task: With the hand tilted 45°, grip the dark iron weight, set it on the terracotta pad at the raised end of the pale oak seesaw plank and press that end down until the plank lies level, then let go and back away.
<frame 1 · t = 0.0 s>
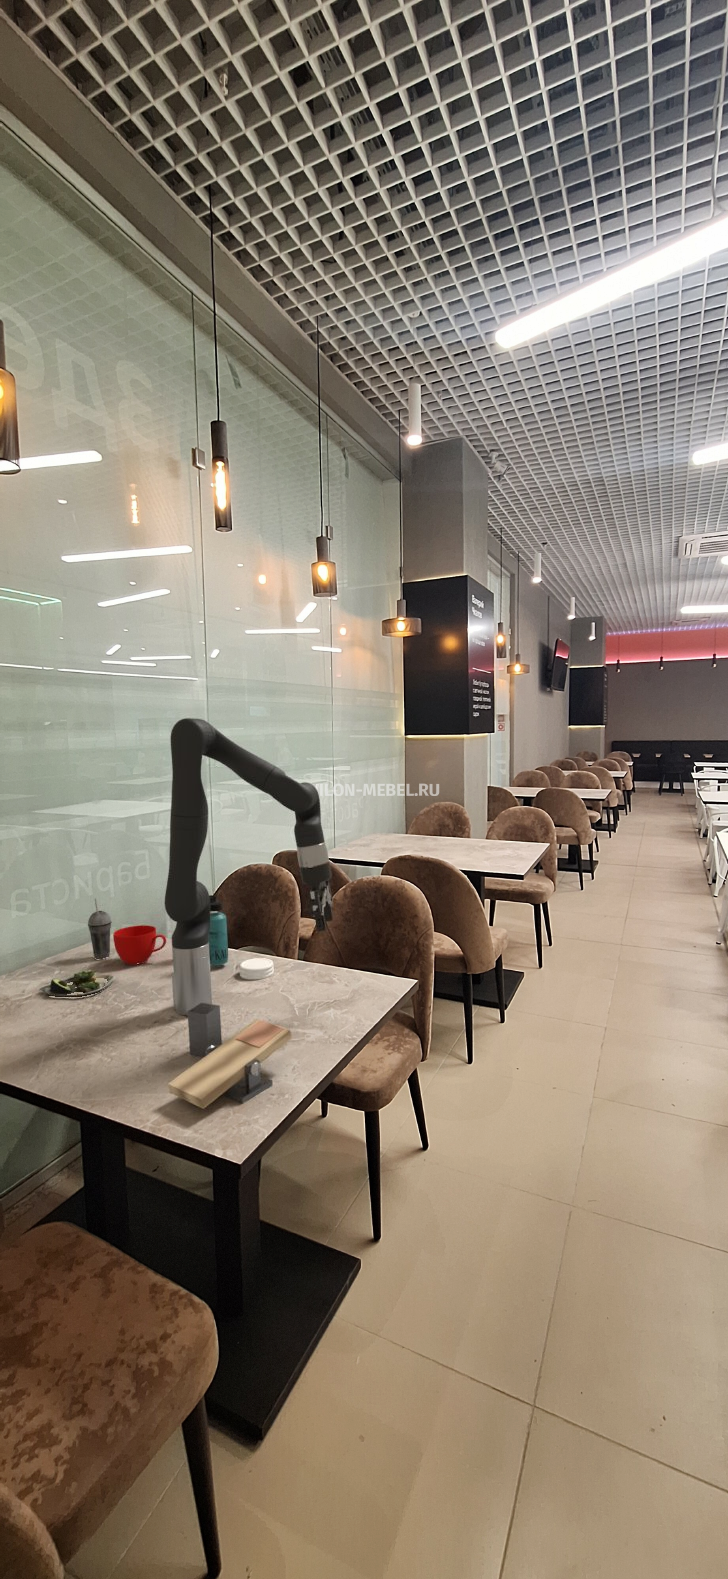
hand: (325, 925, 167), 22 cm above the table, tool pointing down, fingers open, 8 cm apart
ceramic cup: (142, 962, 213), on the table
beverage cup: (102, 958, 218), on the table
seesaw stand: (233, 1083, 135), on the table
coaster: (257, 975, 198), on the table
beverage bottle: (218, 967, 206), on the table
travel mug: (210, 957, 216), on the table
seesaw plank: (232, 1059, 134), point 5 cm above the table, hinge at 10.0°
iron weight: (206, 1051, 149), on the table
salad plate: (78, 990, 191), on the table
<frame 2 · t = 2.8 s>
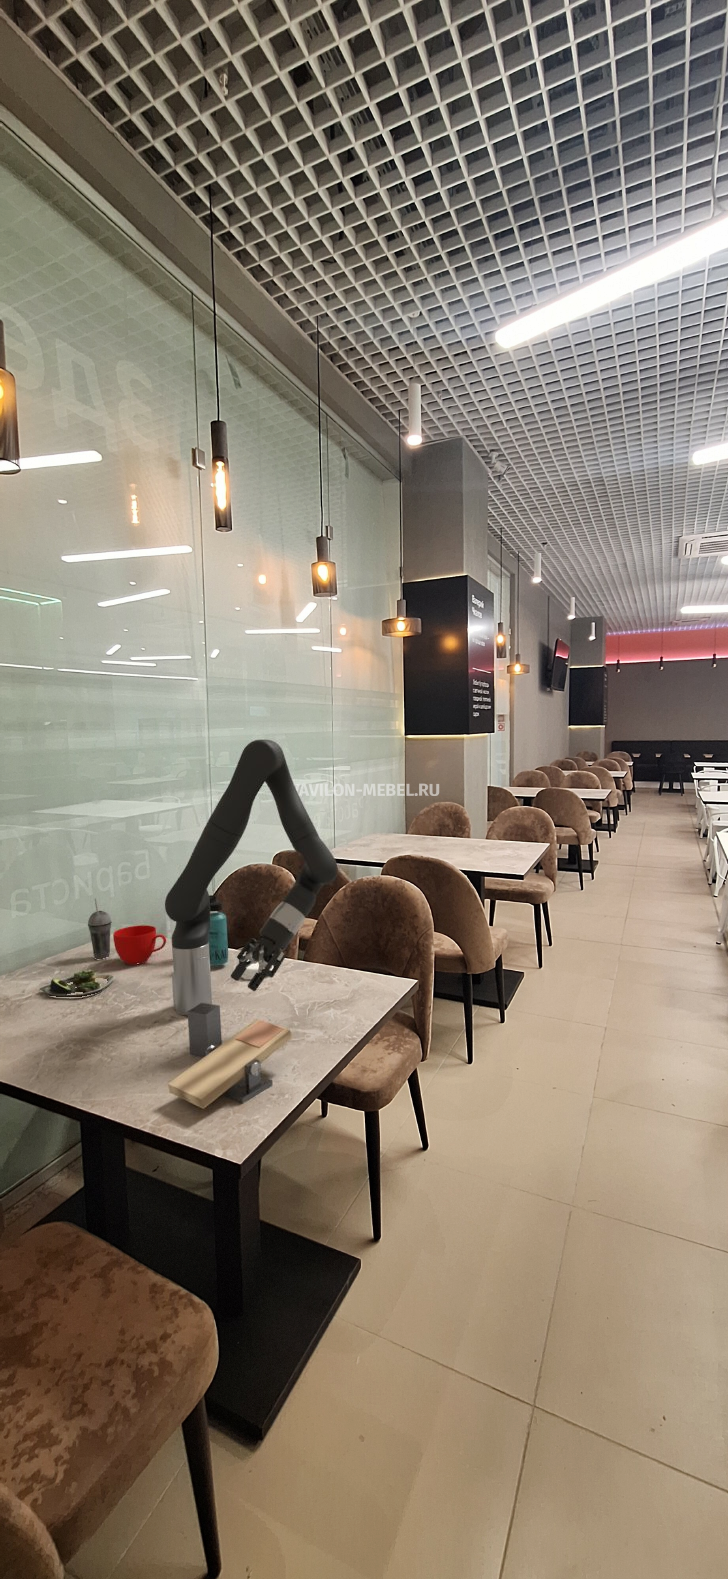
hand: (242, 984, 154), 13 cm above the table, tool tilted 45°, fingers open, 8 cm apart
nothing on the table moved.
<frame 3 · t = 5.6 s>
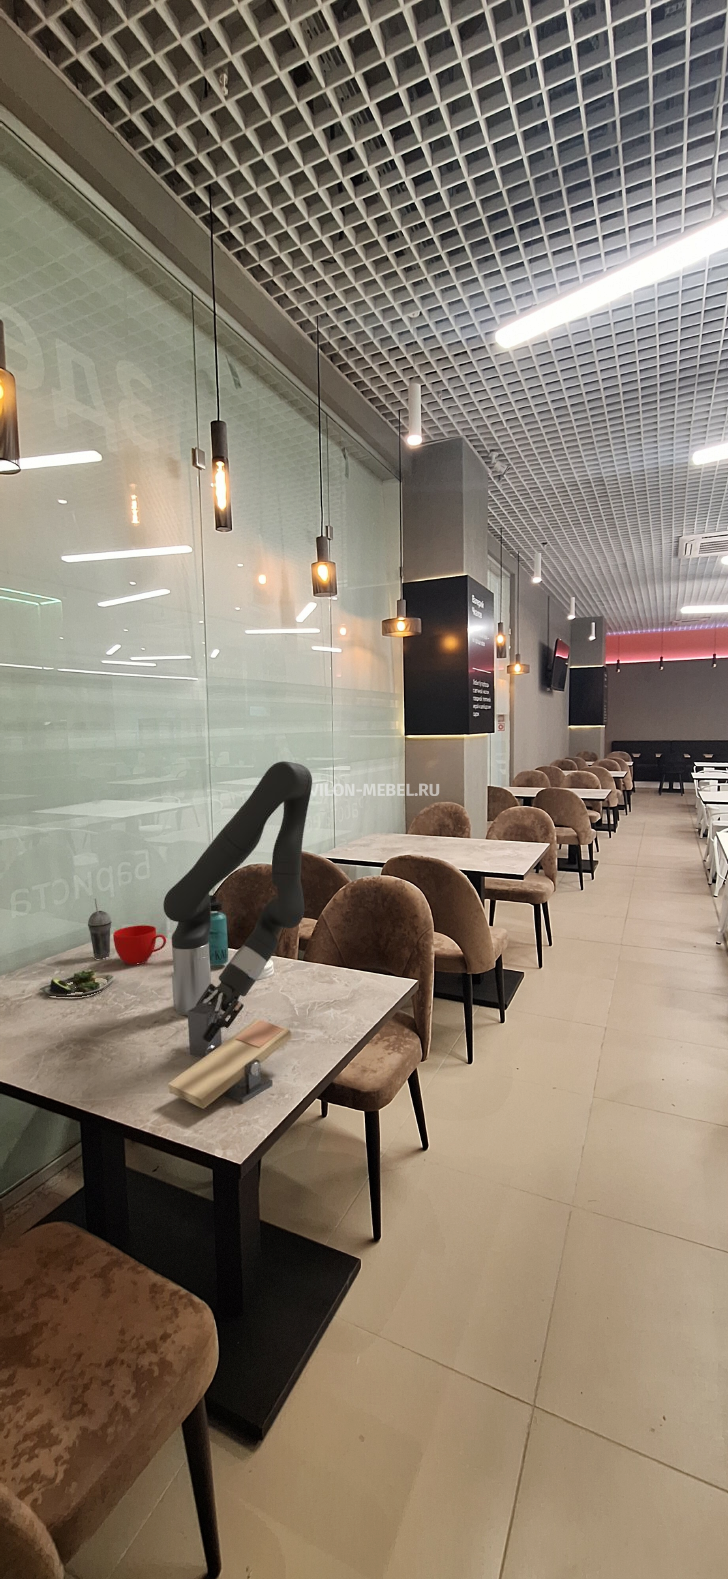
hand: (198, 1034, 148), 4 cm above the table, tool tilted 45°, fingers closed on iron weight, 7 cm apart
iron weight: (206, 1051, 149), on the table, touching gripper
everything else where it was.
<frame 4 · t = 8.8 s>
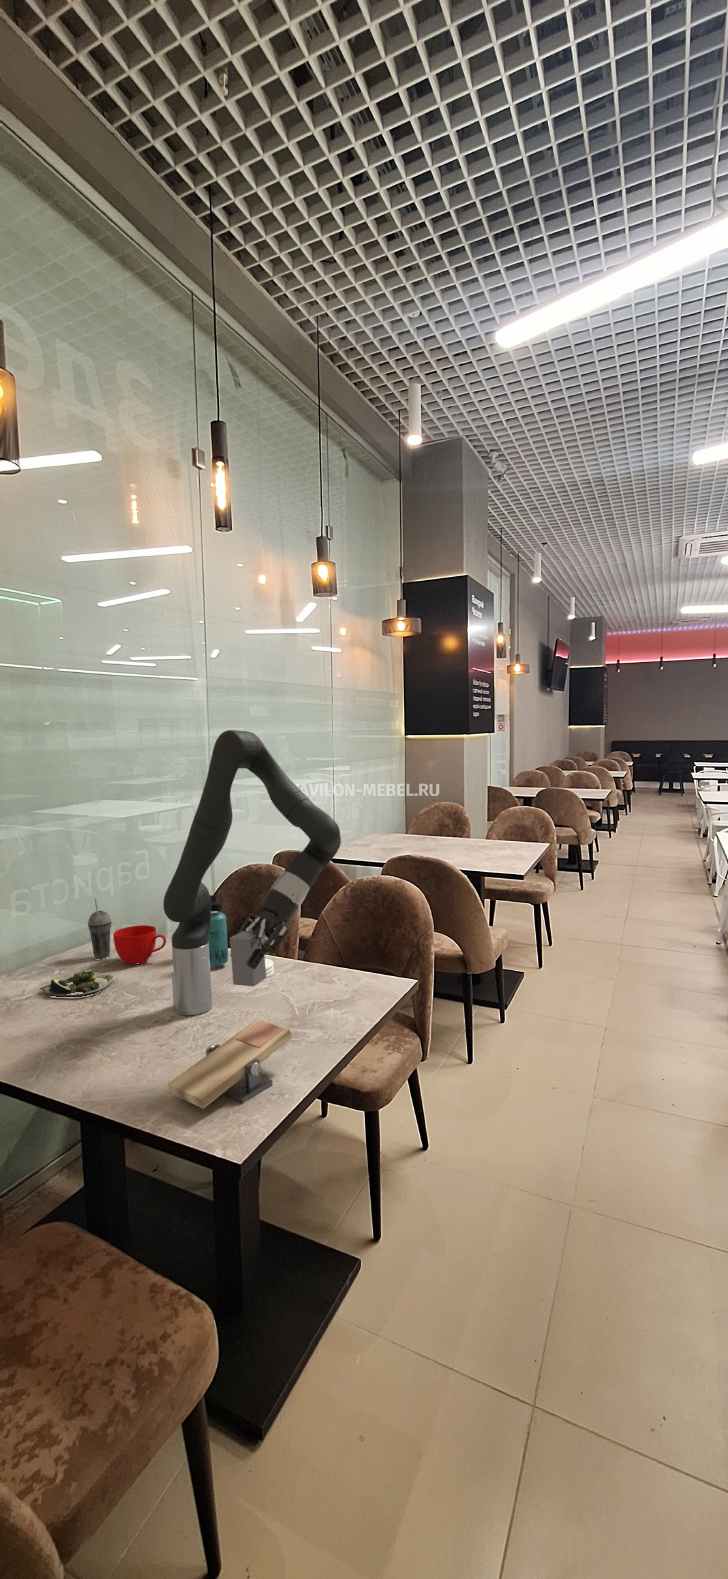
hand: (241, 962, 140), 23 cm above the table, tool tilted 45°, fingers closed on iron weight, 7 cm apart
iron weight: (250, 981, 142), point 18 cm above the table, touching gripper
everything else where it was.
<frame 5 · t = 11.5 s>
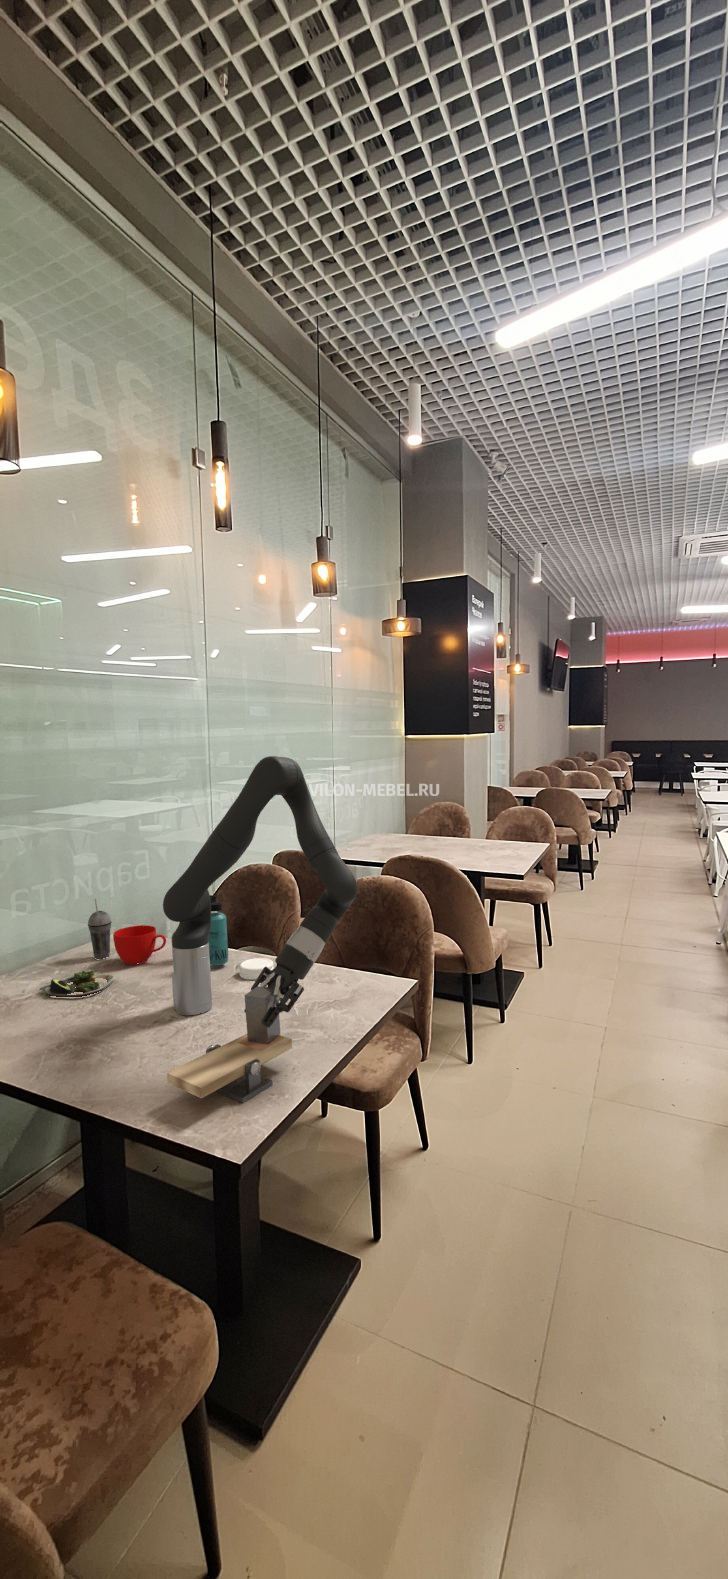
hand: (256, 1019, 140), 11 cm above the table, tool tilted 45°, fingers closed on iron weight, 7 cm apart
seesaw plank: (232, 1059, 134), point 5 cm above the table, hinge at -0.4°, touching iron weight
iron weight: (264, 1037, 141), point 6 cm above the table, touching gripper, seesaw plank
everything else where it was.
when the fingers open (11 cm above the table, at t = 11.9 s): iron weight stays where it is, resting on seesaw plank.
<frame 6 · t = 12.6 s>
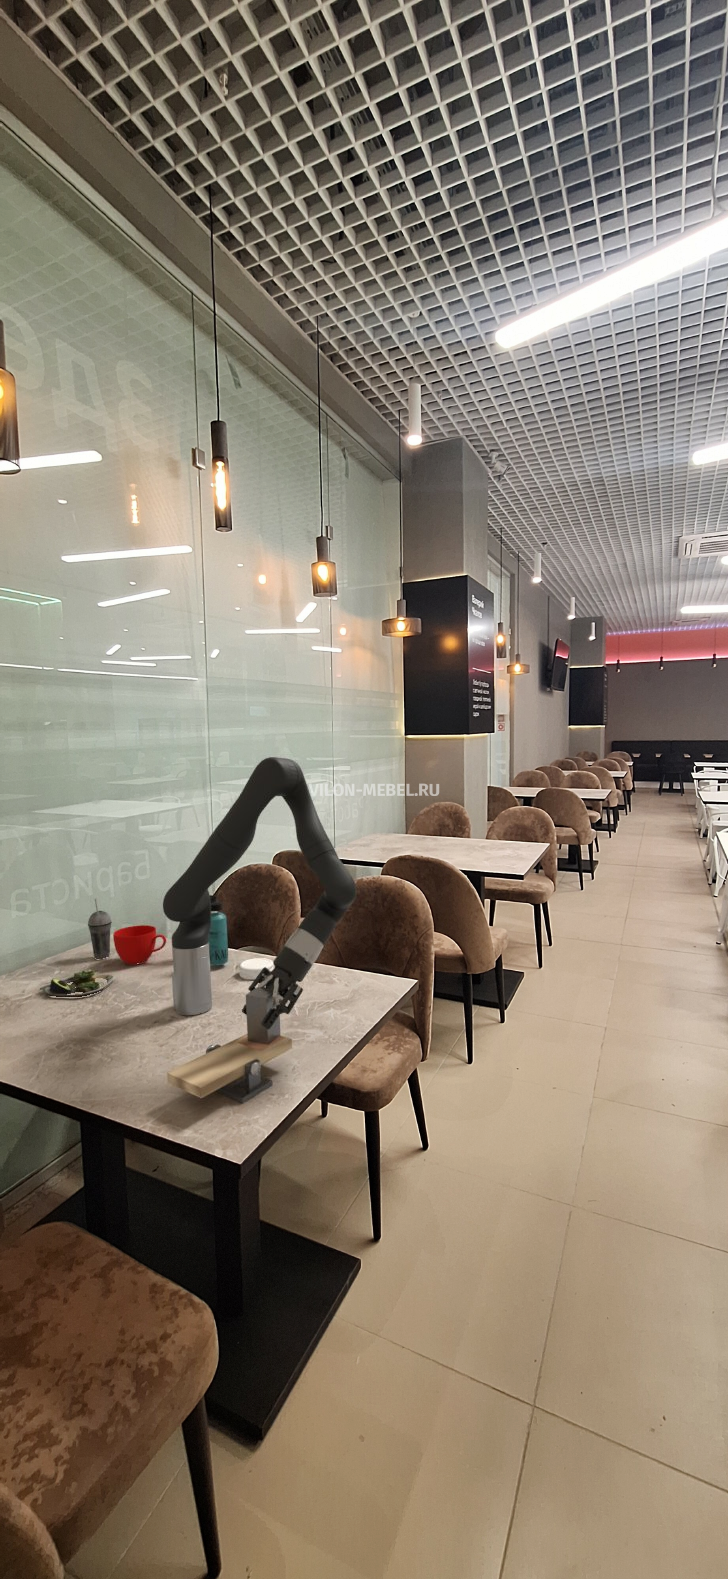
hand: (254, 1020, 139), 11 cm above the table, tool tilted 45°, fingers open, 8 cm apart
iron weight: (264, 1038, 141), point 6 cm above the table, touching seesaw plank
everything else where it was.
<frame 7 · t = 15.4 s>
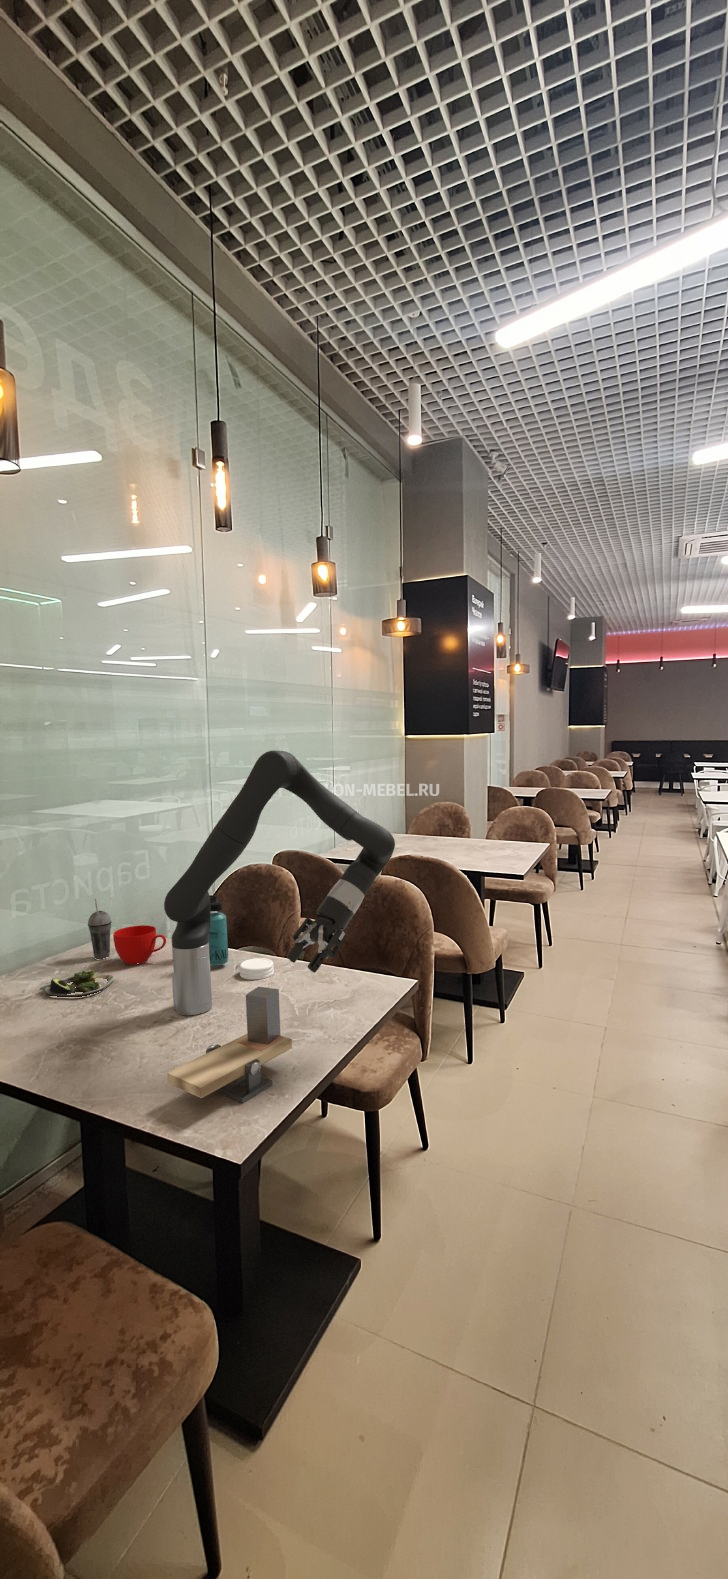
hand: (300, 965, 146), 20 cm above the table, tool tilted 45°, fingers open, 8 cm apart
nothing on the table moved.
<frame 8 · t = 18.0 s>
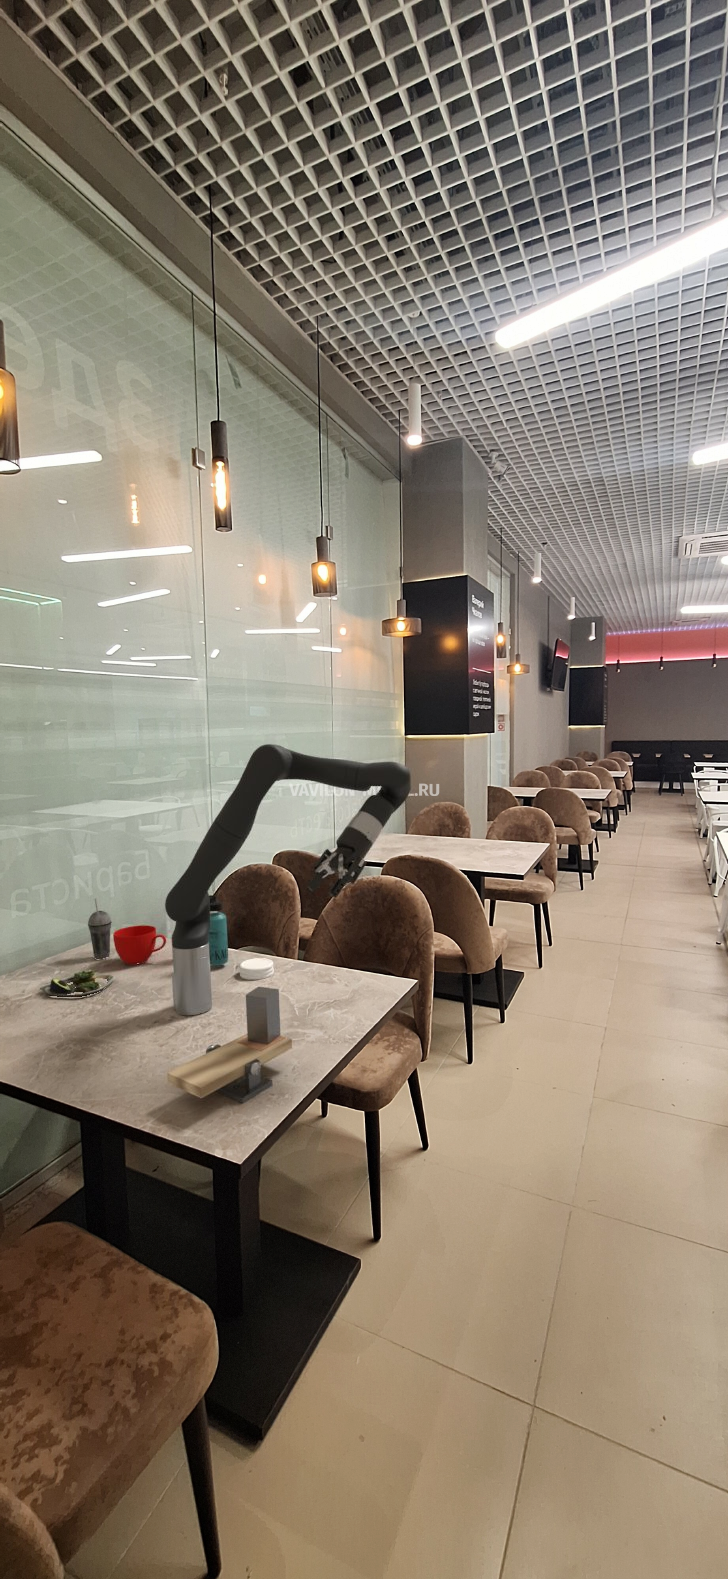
hand: (320, 892, 149), 35 cm above the table, tool tilted 45°, fingers open, 8 cm apart
nothing on the table moved.
at the end: seesaw plank at +0° (first picture: +10°); iron weight inside the target area on the seesaw plank (0.8 cm from its centre), point 1.1 cm above the seesaw plank's base; iron weight tilted 1° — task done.
